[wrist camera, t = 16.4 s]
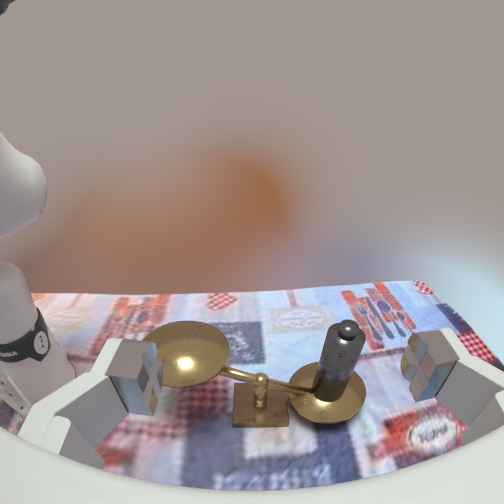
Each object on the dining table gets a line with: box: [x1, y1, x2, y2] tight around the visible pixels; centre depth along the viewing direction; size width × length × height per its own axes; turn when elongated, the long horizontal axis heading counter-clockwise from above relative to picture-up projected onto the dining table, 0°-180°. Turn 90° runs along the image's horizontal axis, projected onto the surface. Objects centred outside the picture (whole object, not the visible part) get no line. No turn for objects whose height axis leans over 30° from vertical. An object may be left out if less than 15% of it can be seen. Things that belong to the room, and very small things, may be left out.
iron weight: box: [311, 320, 366, 402], centre depth 36 cm, size 5×5×12 cm
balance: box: [143, 321, 366, 427], centre depth 37 cm, size 32×12×13 cm, turn 90°
